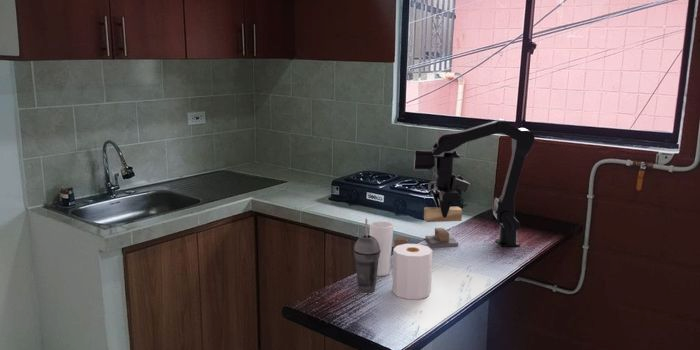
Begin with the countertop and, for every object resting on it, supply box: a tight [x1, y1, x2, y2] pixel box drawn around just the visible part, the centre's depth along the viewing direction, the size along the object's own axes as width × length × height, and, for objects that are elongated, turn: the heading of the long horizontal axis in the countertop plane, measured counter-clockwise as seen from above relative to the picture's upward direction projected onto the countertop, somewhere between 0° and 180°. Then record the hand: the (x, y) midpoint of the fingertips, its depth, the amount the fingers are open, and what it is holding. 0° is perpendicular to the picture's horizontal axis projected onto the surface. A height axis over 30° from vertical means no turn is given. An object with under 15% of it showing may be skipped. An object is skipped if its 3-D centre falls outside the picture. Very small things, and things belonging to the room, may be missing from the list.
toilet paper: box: [391, 243, 433, 300], centre depth 154 cm, size 10×10×12 cm
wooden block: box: [393, 235, 410, 249], centre depth 176 cm, size 4×4×8 cm
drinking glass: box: [368, 220, 394, 277], centre depth 167 cm, size 7×7×15 cm
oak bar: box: [423, 206, 463, 223], centre depth 195 cm, size 4×12×4 cm, turn 97°
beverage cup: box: [353, 218, 381, 295], centre depth 154 cm, size 7×7×20 cm
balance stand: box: [424, 227, 459, 248], centre depth 196 cm, size 9×9×4 cm
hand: (442, 215), depth 195 cm, fingers closed on oak bar, 4 cm apart
